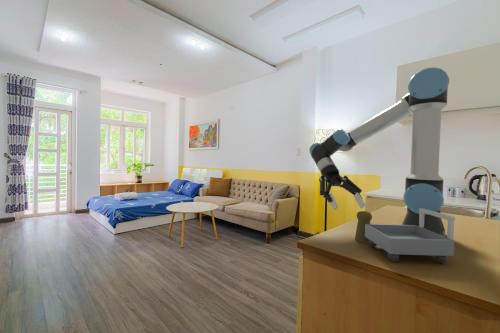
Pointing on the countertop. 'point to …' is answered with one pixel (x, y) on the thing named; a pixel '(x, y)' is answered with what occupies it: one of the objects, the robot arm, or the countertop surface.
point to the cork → (362, 226)
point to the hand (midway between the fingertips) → (350, 207)
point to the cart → (413, 238)
